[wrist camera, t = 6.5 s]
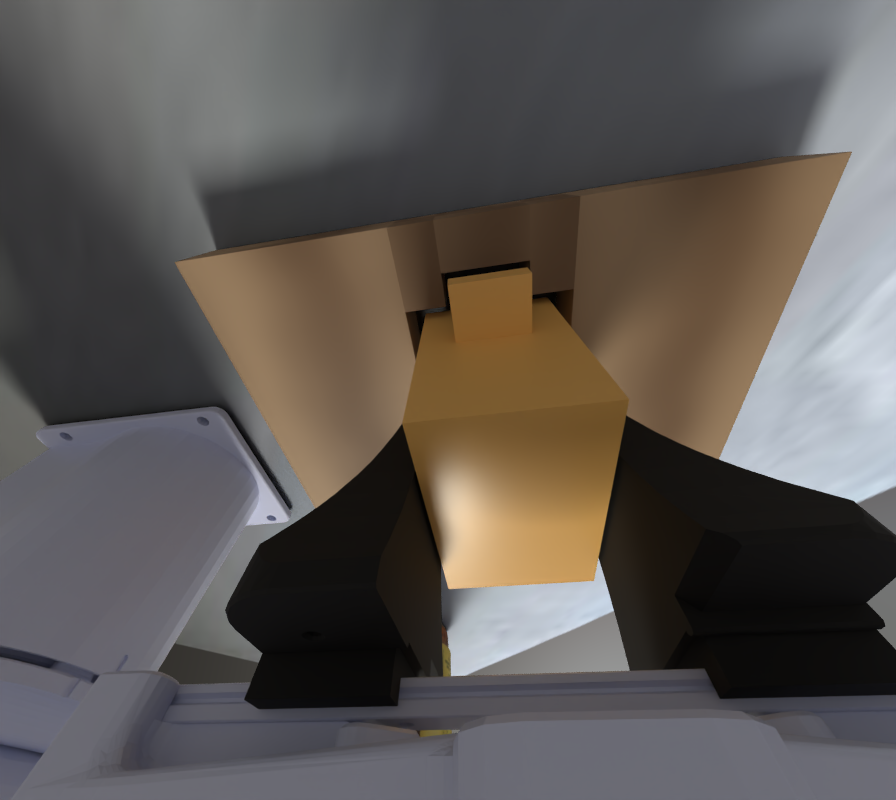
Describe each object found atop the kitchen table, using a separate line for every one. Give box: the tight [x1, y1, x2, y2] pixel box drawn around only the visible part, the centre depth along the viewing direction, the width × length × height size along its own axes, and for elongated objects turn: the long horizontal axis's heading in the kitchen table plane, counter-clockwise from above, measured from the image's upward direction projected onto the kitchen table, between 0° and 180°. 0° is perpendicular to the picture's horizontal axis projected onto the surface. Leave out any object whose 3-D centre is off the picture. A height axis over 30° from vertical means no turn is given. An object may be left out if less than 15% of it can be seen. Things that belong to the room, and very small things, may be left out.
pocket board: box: [175, 152, 852, 508], centre depth 13 cm, size 18×12×2 cm, turn 98°
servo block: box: [402, 267, 629, 589], centre depth 10 cm, size 4×9×6 cm, turn 8°
